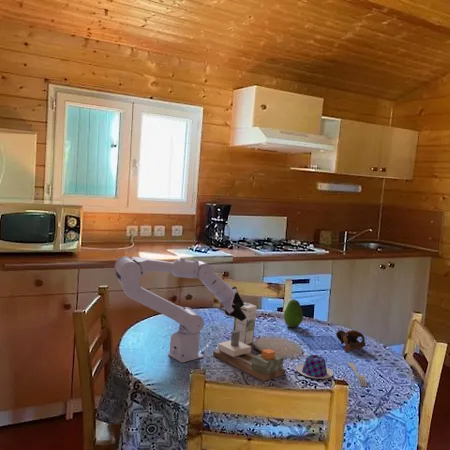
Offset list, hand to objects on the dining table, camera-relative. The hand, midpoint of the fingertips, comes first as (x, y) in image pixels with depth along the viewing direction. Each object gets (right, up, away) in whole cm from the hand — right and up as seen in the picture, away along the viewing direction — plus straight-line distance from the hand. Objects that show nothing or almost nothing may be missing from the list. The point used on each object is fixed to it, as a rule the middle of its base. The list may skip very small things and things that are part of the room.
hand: (242, 312), depth 173 cm
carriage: (-3, -12, -5) cm, 14 cm away
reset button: (+7, -12, -17) cm, 22 cm away
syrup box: (0, -13, +11) cm, 17 cm away
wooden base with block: (+1, -16, -10) cm, 18 cm away
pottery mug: (+41, -17, +14) cm, 46 cm away
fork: (+37, -19, -11) cm, 43 cm away
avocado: (+22, -13, +34) cm, 43 cm away
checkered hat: (+23, -18, -12) cm, 31 cm away
